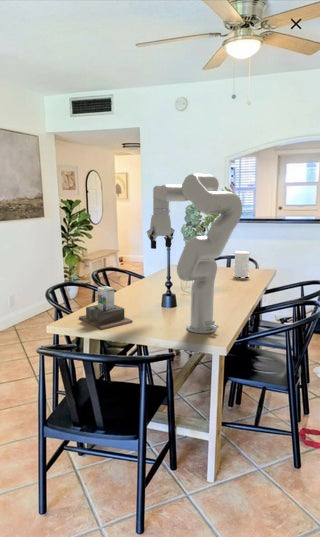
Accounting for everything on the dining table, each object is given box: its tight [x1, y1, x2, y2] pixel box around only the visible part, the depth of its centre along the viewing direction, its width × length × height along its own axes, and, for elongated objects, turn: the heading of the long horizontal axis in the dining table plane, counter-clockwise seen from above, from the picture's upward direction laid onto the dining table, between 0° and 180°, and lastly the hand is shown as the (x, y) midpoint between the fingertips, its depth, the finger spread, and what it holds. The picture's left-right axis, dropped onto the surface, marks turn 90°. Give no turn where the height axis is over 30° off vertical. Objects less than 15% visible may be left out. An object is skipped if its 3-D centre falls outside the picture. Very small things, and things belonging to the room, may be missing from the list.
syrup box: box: [97, 285, 115, 311], centre depth 177 cm, size 6×6×14 cm
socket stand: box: [78, 304, 133, 330], centre depth 178 cm, size 20×16×6 cm
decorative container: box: [232, 250, 251, 278], centre depth 279 cm, size 12×12×18 cm
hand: (160, 247), depth 188 cm, fingers open, 9 cm apart
